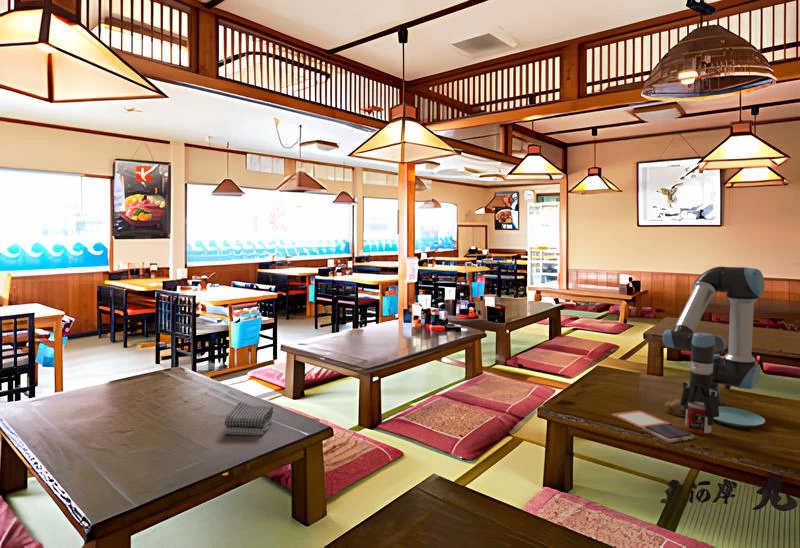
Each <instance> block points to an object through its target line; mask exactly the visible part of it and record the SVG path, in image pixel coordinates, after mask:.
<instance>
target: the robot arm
mask: <svg viewBox="0 0 800 548" xmlns="http://www.w3.org/2000/svg"><path fill="white" fill-rule="evenodd" d="M691 289H692V292H691V293H690V295H689V297H688V299H687V302H686V303H685V306H684V308H683V309H682V311H681V314H680V315H679V316H678V317H679V318H678V319H677V321H676V323H675V326H674V327H673V329H668V328H667V329H666V330H664V332H663V334H662V343H663V345H664V346H665V347H668V348H673V349H679V350H685V351H690V352H691V356H690V363H689V364H690V366H689V367H690V368H689V369H690V371H689V381H686V382H683V383H682V385H683V386H682V387H683V390H682V393H681V394H682V395H681V399H680V400H681V402H680V405H681V406H684V408H685V413H684V415H685V416H684V417H685V420H684V421H685V422H684V425H685V426H687V413H688V403H689V402H702V403H704V406H705V409H706V413H707V416H705V427H704V433H708V434H711V433H712V426H713V425H714V417H719V408H718V406H722V405H723V399H722V396H721V391H720V389H719V386H720V385H719V384H721V385H725V386H731V387H735V388H739V389H745V390H752V389H754V388H755V387H756V385H757V383H758V381H759V379H760V374H761V366H760V364H758V363H756V358H755V357H754V356H753V355H752V349H753V331H754V313H755V311H754V308H755V306H754V305H755V302H757V301H758V300H759V297H760V296H762V295H764V293H765V290H764V289H765V278H764V276H763V273H762V271H761V270H759V268H754V267H747V266H746V267H745V266H744V267H743V266H742V267H741V266H739V267H738V266H737V267H736V266H735V267H734V266H715V267H712V268H710V269H708V270H705V271H704V272H703V273H701V274H700V275H699V276H698V277H697V278H696V279H695V281H694V283H693V284H692V286H691ZM717 293H726V298H727V299H728V300H729V302H730V304H729V305H730V306H729V327H728V329H729V330H728V348H727V341H726V339H725V338H724V337H723V336H721V335H719V334H712V333H708V332H695V331H696V329H697V326H699V325H698V324H699V323H700V321H701V319H702V316H703V314H704V313H705V310H706V309H707V307H708V304H710V303H709V302H710V300H711V298H713V297H715V295H716V294H717ZM726 348H727V349H728V350H727V352H728V353H726V354H725V355H723V358H722V356H721V355H720V354H721V353H722V352H724V351H725V350H726Z"/></svg>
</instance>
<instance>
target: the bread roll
mask: <svg viewBox="0 0 800 548" xmlns="http://www.w3.org/2000/svg"><path fill="white" fill-rule="evenodd" d="M680 402H681V399H680V398H672V399H669V400H668V401H666V403H665V404H664V405H663V406H664V410H665V412H666V413H667V412H668V413H667V414H669V413H670V414H669V415H672V414H673V415H672V416H676V415H677V416H676V417H682V416H684V417H686V416H685V415H684V413H685V408H684V406H681V405H680Z"/></svg>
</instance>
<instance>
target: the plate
mask: <svg viewBox="0 0 800 548" xmlns="http://www.w3.org/2000/svg"><path fill="white" fill-rule="evenodd" d="M718 408H719V417H714V419H713V421H715V420H716V421H715V422H718V423H720V424H723V425H727V426H731V427H738V428H752V427H757V426H762V425H763V424H765V423H766V419H765V418H764V417H762V416H761V415H759V414H757V413H754V412H752V411H749V410H747V409H746V410H745V409H741V408H737V407H733V406H732V407H731V406H724V405H723V406H722V405H721V406H718Z"/></svg>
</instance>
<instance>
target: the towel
mask: <svg viewBox="0 0 800 548" xmlns="http://www.w3.org/2000/svg"><path fill="white" fill-rule="evenodd" d="M273 410H274V406H272V405H268V406H267V405H254V406H253V405H249V404H247V403H244V402H243V401H240V402H238V403H237V404H236V405H235V407H234V408H232V409H231V411H230V413H228V415H227V416H226V417H225V421H224V426H225V428H224V433H225V435H233V436H234V435H235V436H236V435H237V436H263V435H264V434H265V432H266V431H267V430H268V429H269V427H270V423H271V422H272V420H273V414H274V411H273Z"/></svg>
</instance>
